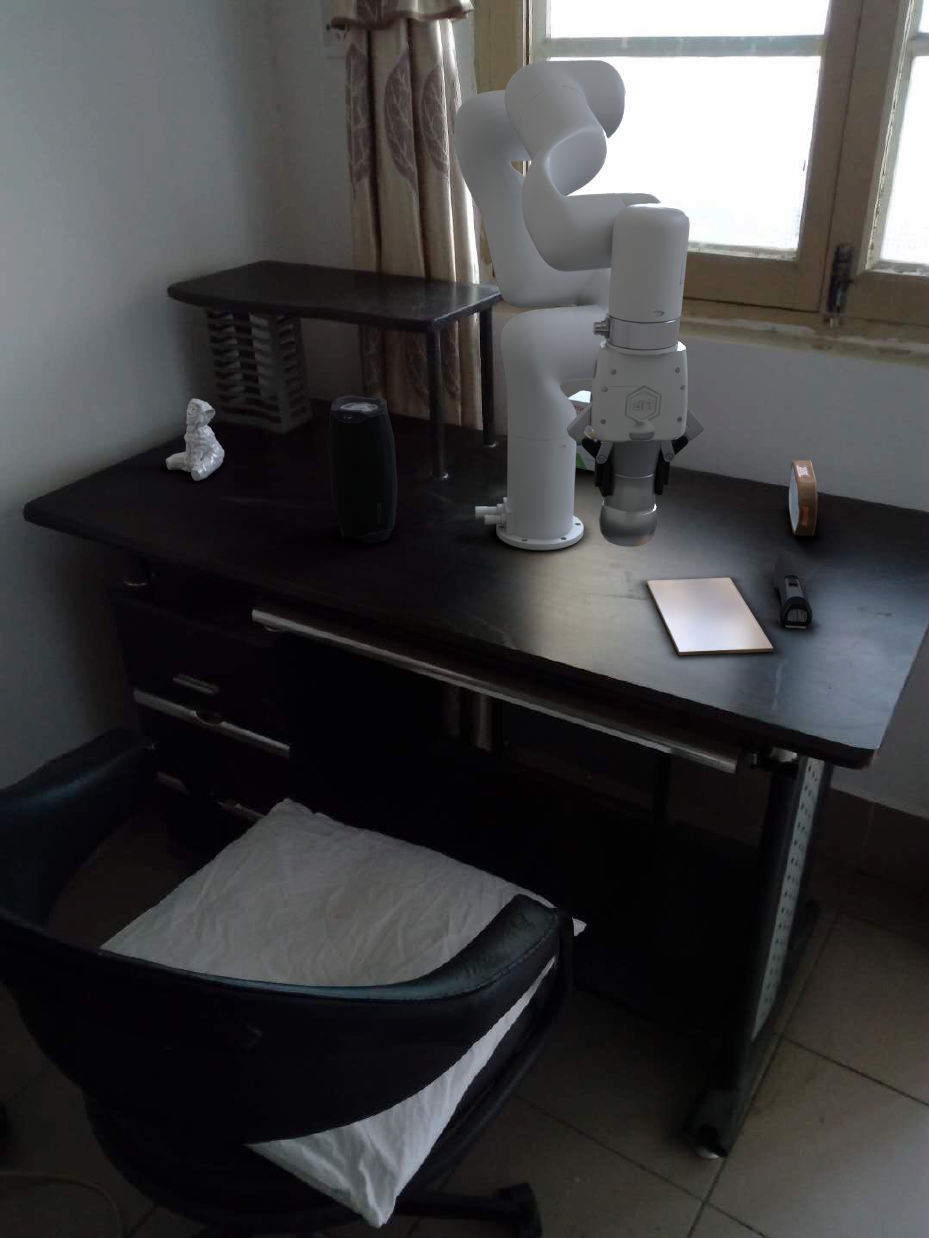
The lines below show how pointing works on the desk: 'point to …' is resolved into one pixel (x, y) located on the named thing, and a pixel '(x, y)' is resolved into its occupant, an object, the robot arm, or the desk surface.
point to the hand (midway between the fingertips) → (630, 489)
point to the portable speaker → (362, 468)
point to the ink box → (582, 455)
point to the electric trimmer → (791, 594)
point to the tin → (803, 498)
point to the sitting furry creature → (198, 443)
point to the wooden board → (707, 617)
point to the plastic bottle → (631, 489)
